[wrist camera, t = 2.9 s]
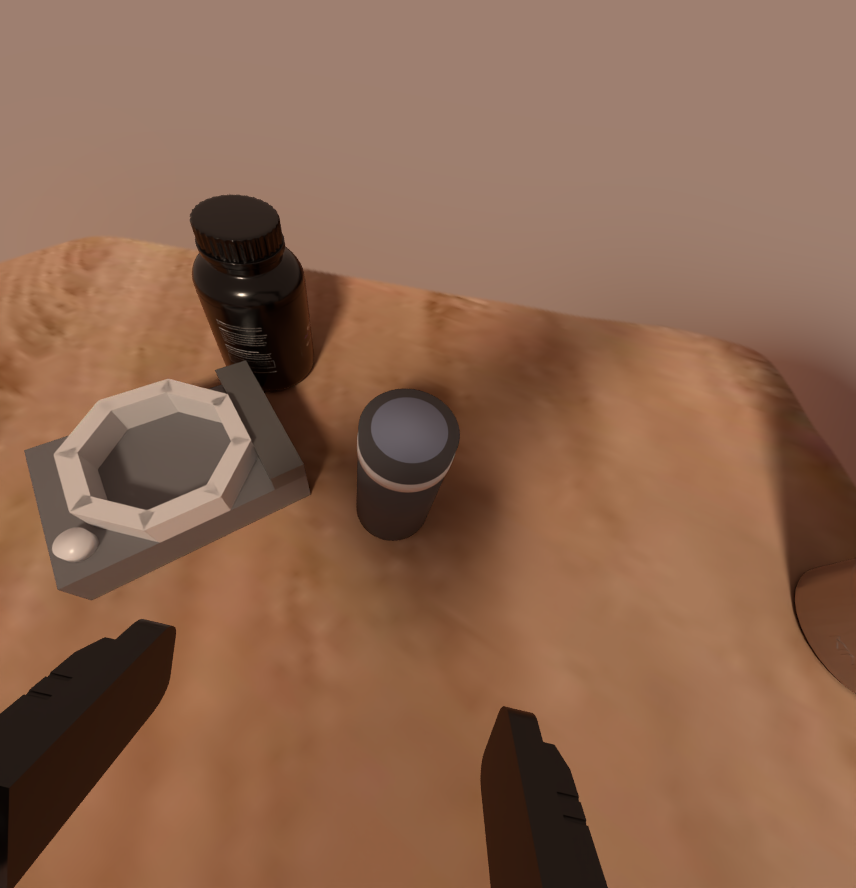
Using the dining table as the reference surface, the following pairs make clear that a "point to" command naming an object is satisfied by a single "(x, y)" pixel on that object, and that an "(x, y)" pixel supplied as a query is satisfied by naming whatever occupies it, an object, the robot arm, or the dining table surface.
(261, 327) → the supplement bottle
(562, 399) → the dining table surface
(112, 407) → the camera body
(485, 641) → the dining table surface
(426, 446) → the lens
